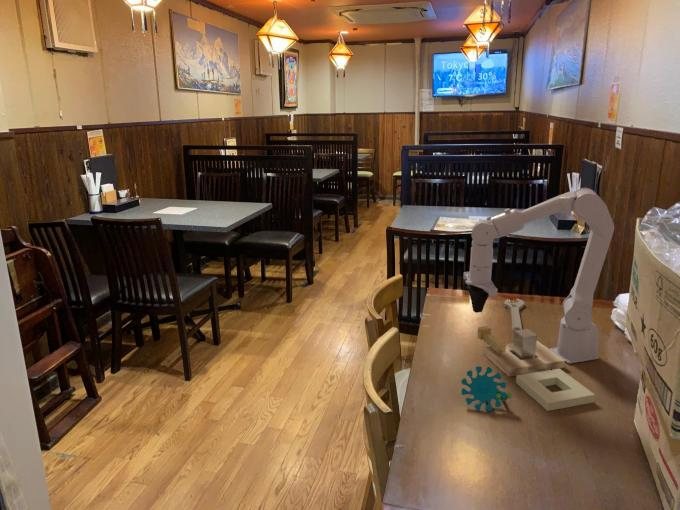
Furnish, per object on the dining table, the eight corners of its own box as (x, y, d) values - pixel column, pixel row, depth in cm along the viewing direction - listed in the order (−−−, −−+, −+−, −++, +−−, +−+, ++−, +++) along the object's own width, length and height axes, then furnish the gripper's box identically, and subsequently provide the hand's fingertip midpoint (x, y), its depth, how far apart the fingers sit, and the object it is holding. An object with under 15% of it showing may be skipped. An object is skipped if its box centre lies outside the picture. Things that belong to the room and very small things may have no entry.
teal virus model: (454, 400, 112) (468, 359, 115) (455, 406, 117) (468, 366, 120) (505, 419, 107) (517, 375, 111) (503, 424, 112) (516, 382, 116)
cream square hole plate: (558, 375, 124) (559, 368, 124) (593, 402, 113) (594, 394, 113) (515, 382, 121) (516, 375, 121) (547, 410, 110) (548, 403, 110)
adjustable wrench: (522, 336, 147) (522, 330, 146) (499, 333, 149) (499, 327, 148) (524, 304, 169) (524, 299, 168) (504, 301, 171) (504, 297, 171)
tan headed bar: (487, 335, 138) (488, 326, 137) (507, 351, 129) (508, 341, 129) (477, 337, 138) (478, 327, 137) (496, 353, 129) (497, 342, 128)
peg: (524, 356, 134) (527, 328, 132) (534, 363, 130) (537, 335, 128) (511, 358, 133) (514, 330, 131) (520, 365, 129) (523, 337, 127)
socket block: (535, 346, 139) (536, 339, 139) (564, 367, 128) (565, 360, 127) (483, 354, 135) (483, 347, 135) (508, 376, 124) (509, 369, 124)
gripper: (454, 258, 141) (452, 303, 145) (481, 274, 128) (478, 323, 132) (477, 256, 143) (474, 300, 147) (506, 271, 129) (501, 320, 133)
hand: (477, 311), depth 139 cm, fingers closed
